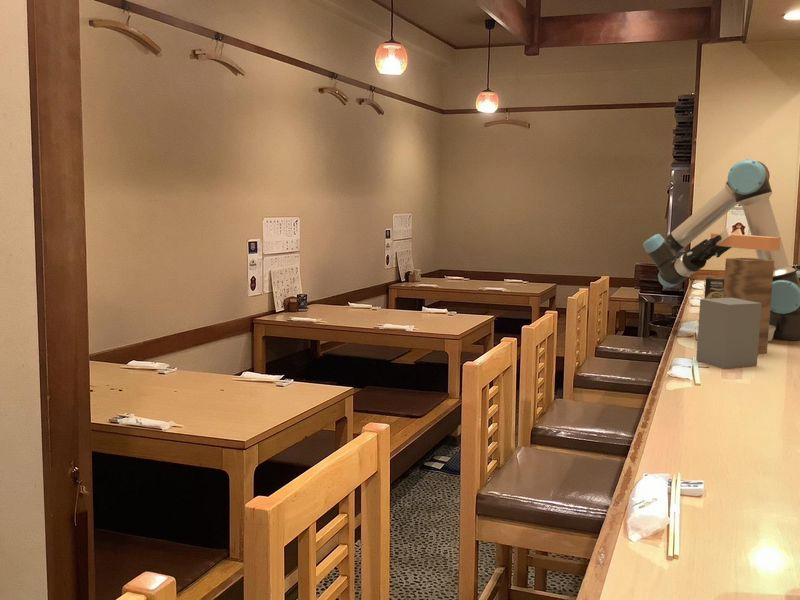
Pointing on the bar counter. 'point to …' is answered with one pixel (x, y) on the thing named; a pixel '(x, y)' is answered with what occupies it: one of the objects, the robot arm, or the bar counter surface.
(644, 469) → the bar counter surface
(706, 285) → the coffee box
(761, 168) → the robot arm
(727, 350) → the low post
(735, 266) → the tall post
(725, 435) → the bar counter surface
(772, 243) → the beam
